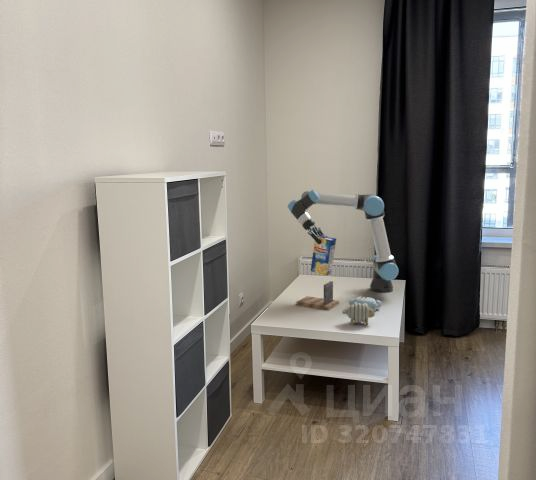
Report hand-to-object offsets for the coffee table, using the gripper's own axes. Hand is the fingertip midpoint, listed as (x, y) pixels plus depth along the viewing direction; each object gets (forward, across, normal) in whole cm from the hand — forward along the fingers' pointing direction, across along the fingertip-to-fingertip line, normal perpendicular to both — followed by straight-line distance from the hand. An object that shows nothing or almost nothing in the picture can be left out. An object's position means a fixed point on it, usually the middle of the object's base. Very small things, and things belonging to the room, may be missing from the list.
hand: (330, 251), depth 321 cm
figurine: (+40, +4, -4) cm, 41 cm away
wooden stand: (+20, +9, -25) cm, 33 cm away
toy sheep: (+44, +29, 0) cm, 53 cm away
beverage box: (+5, 0, -14) cm, 15 cm away
